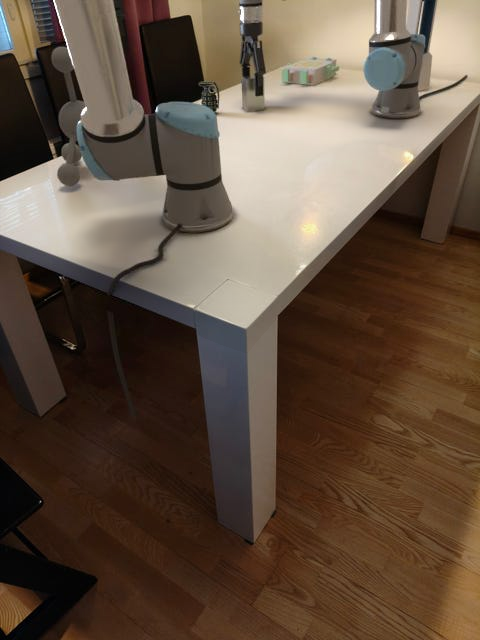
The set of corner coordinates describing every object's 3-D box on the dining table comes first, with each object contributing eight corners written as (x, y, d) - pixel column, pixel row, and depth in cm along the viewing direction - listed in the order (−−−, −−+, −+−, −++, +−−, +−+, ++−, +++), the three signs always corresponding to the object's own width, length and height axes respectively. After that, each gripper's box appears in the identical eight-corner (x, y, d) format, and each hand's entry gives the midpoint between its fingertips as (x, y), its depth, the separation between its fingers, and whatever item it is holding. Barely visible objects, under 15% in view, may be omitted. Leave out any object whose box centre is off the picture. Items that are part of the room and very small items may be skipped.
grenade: (199, 115, 171) (196, 84, 165) (204, 110, 175) (201, 80, 169) (217, 115, 170) (215, 84, 164) (221, 111, 174) (219, 80, 168)
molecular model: (148, 176, 128) (126, 47, 109) (62, 192, 122) (23, 59, 103) (130, 150, 145) (108, 34, 127) (54, 163, 139) (20, 44, 121)
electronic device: (399, 93, 181) (413, -3, 163) (389, 89, 187) (401, -5, 168) (429, 89, 183) (446, -6, 165) (418, 85, 189) (433, -8, 171)
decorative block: (304, 55, 215) (345, 58, 206) (303, 71, 219) (344, 74, 210) (272, 66, 199) (316, 70, 190) (273, 83, 203) (315, 88, 194)
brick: (259, 105, 178) (259, 74, 171) (264, 109, 174) (264, 76, 167) (242, 108, 176) (241, 76, 170) (247, 111, 172) (246, 79, 166)
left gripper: (78, -64, 111) (99, 42, 124) (86, -68, 92) (109, 58, 105) (111, -66, 112) (128, 39, 125) (125, -70, 93) (144, 54, 106)
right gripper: (228, 18, 167) (232, 85, 180) (252, 26, 148) (254, 101, 161) (249, 16, 169) (251, 82, 182) (275, 24, 150) (275, 98, 163)
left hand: (120, 48), depth 115 cm, fingers open, 13 cm apart
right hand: (252, 91), depth 171 cm, fingers open, 13 cm apart
